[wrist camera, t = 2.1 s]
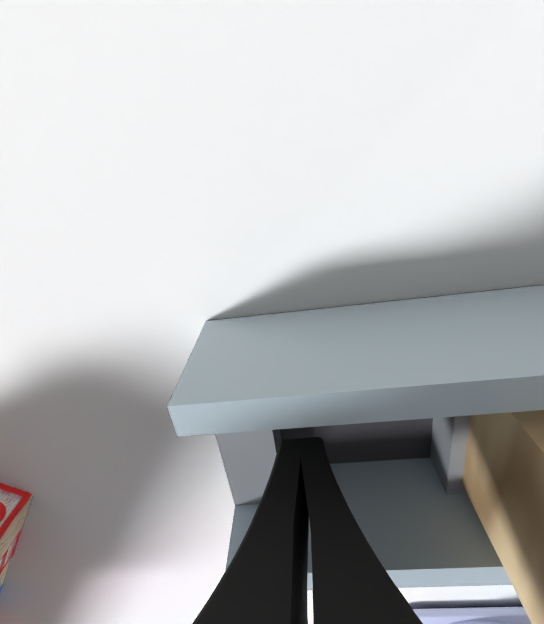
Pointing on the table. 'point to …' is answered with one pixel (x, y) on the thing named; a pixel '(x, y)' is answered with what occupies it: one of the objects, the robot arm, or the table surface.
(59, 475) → the table surface
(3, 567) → the stack of blocks
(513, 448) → the maple block
